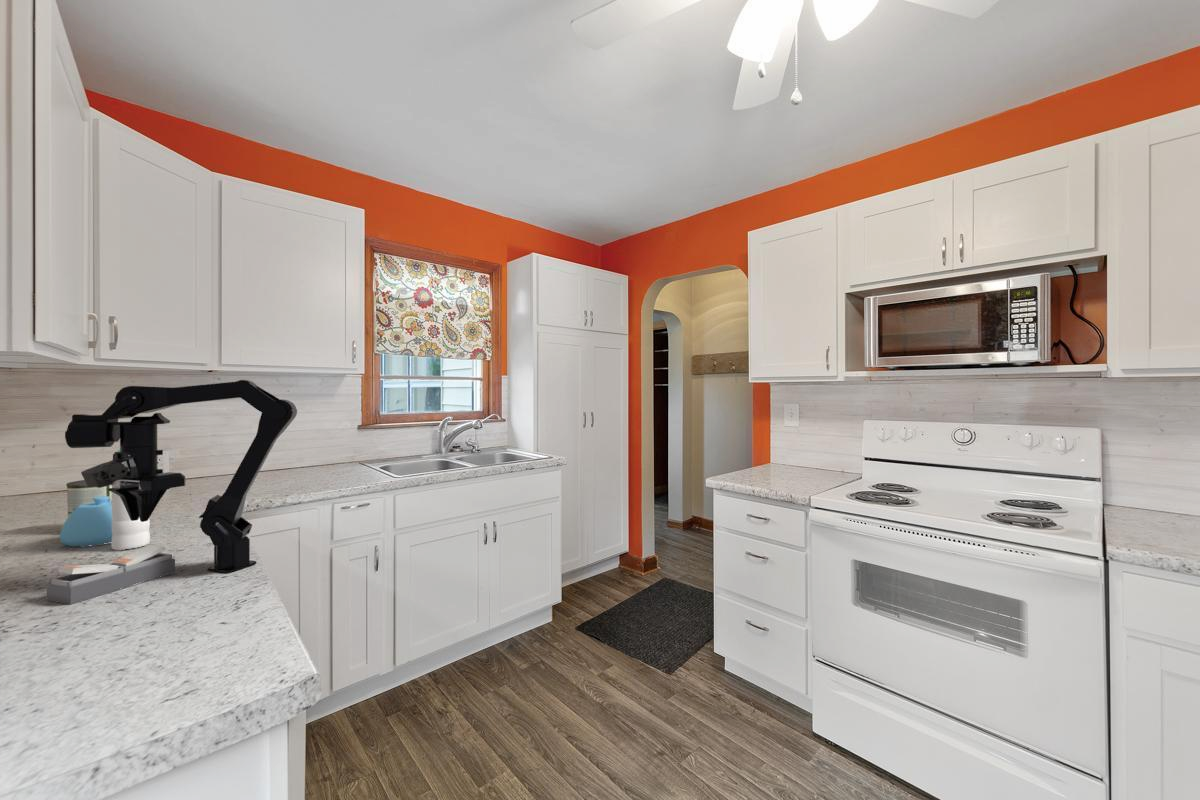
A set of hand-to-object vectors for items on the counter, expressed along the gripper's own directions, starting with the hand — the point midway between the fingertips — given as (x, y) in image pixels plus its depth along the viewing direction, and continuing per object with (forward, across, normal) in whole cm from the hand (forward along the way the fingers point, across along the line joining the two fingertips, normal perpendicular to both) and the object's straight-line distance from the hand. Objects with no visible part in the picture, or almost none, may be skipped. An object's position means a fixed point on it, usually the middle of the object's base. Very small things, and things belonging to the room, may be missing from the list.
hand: (139, 520), depth 103 cm
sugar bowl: (+12, -43, +16) cm, 48 cm away
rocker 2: (+7, 0, 0) cm, 7 cm away
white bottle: (+12, -28, +14) cm, 34 cm away
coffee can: (+12, -58, +22) cm, 63 cm away
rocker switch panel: (+12, 0, -4) cm, 13 cm away
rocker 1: (+7, 0, -8) cm, 11 cm away
